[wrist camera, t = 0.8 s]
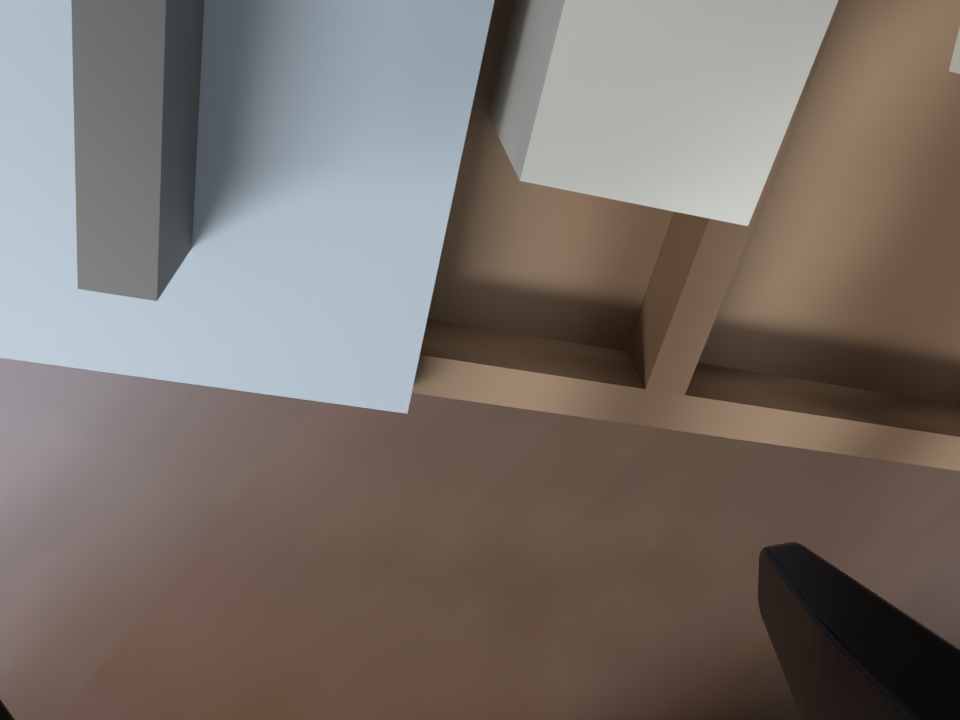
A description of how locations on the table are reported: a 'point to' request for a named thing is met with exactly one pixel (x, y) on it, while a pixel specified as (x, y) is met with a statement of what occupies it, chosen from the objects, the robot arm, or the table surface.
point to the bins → (734, 270)
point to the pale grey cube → (956, 56)
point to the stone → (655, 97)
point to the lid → (232, 187)
